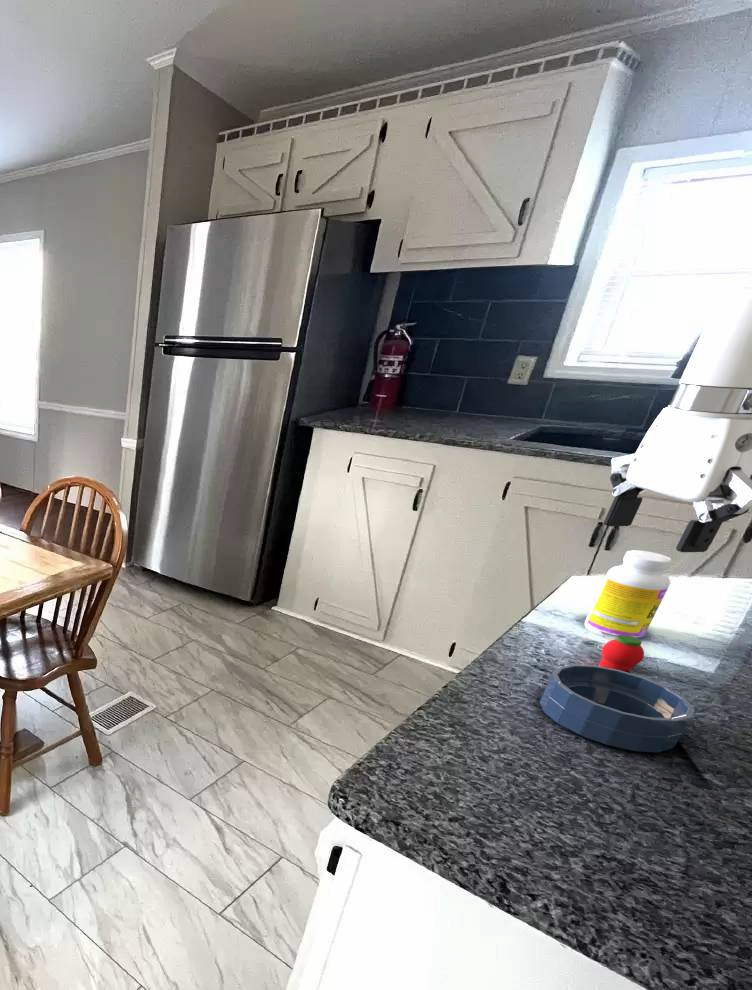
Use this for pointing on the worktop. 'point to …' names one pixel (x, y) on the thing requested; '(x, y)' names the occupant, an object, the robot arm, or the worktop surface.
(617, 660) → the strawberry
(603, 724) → the bowl
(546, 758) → the worktop surface
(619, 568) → the supplement bottle
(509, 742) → the worktop surface
